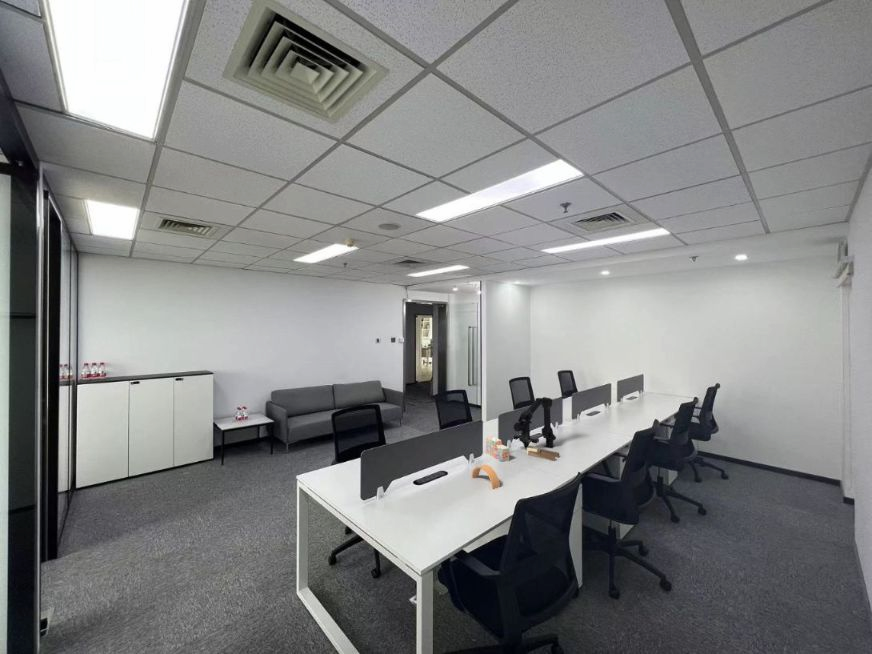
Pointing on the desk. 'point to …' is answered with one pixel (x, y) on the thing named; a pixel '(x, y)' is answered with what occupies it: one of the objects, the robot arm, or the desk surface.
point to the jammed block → (533, 449)
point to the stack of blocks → (497, 449)
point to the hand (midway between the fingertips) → (526, 449)
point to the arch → (490, 473)
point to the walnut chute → (544, 454)
